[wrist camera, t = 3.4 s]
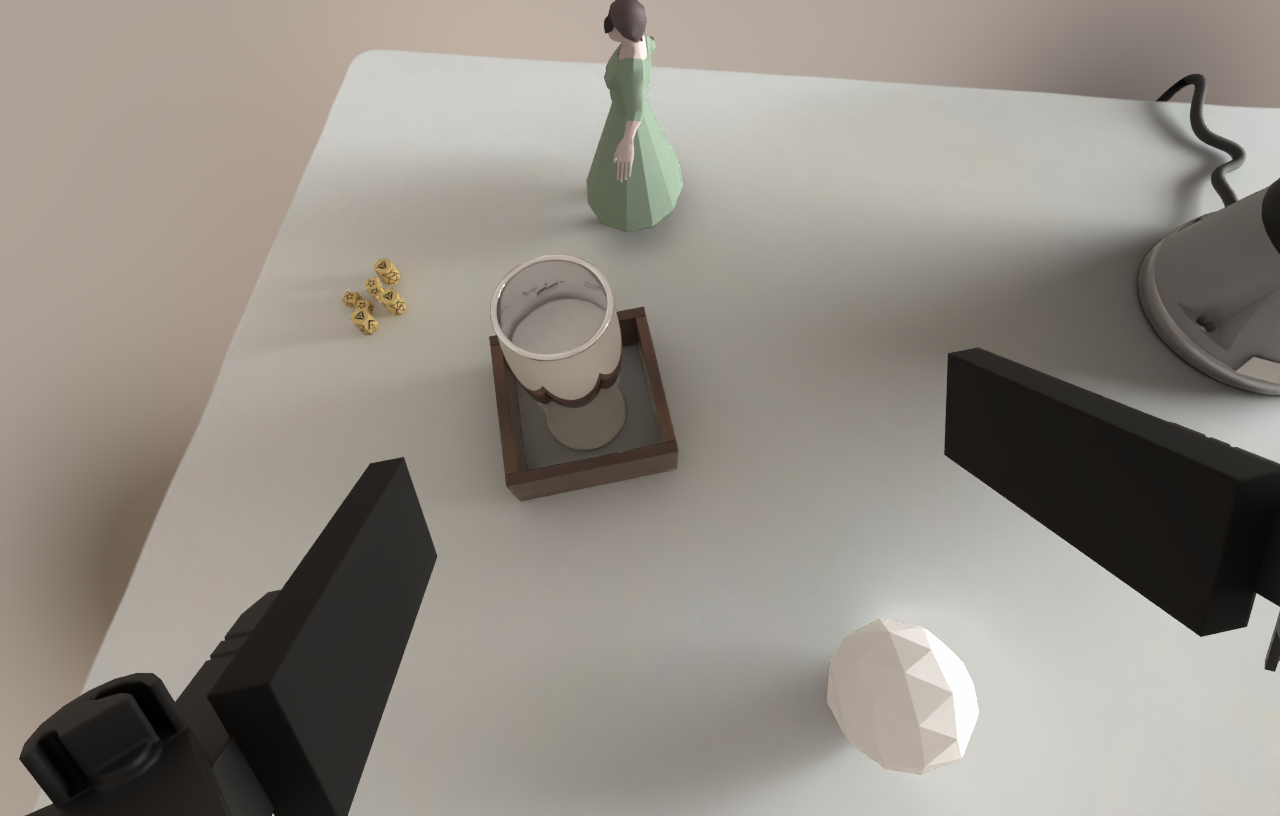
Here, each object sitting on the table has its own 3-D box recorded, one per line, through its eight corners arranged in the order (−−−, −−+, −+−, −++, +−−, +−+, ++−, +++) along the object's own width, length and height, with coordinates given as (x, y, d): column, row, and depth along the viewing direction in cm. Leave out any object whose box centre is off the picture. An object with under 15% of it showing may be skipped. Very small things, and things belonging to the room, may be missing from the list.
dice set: (397, 269, 51) (387, 255, 49) (420, 311, 49) (410, 298, 48) (342, 296, 50) (330, 282, 49) (363, 340, 49) (352, 328, 47)
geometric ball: (895, 703, 39) (1005, 793, 31) (791, 721, 36) (885, 825, 29) (909, 593, 38) (1025, 658, 31) (803, 604, 35) (903, 678, 28)
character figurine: (603, 130, 56) (578, -90, 40) (690, 134, 56) (700, -87, 39) (578, 267, 50) (535, 75, 34) (675, 274, 50) (679, 81, 33)
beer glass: (522, 409, 45) (460, 300, 31) (593, 355, 47) (563, 229, 33) (578, 475, 43) (538, 388, 29) (650, 416, 45) (644, 308, 31)
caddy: (502, 361, 47) (489, 336, 43) (645, 333, 47) (643, 306, 44) (520, 501, 42) (506, 486, 39) (677, 469, 43) (678, 451, 39)
